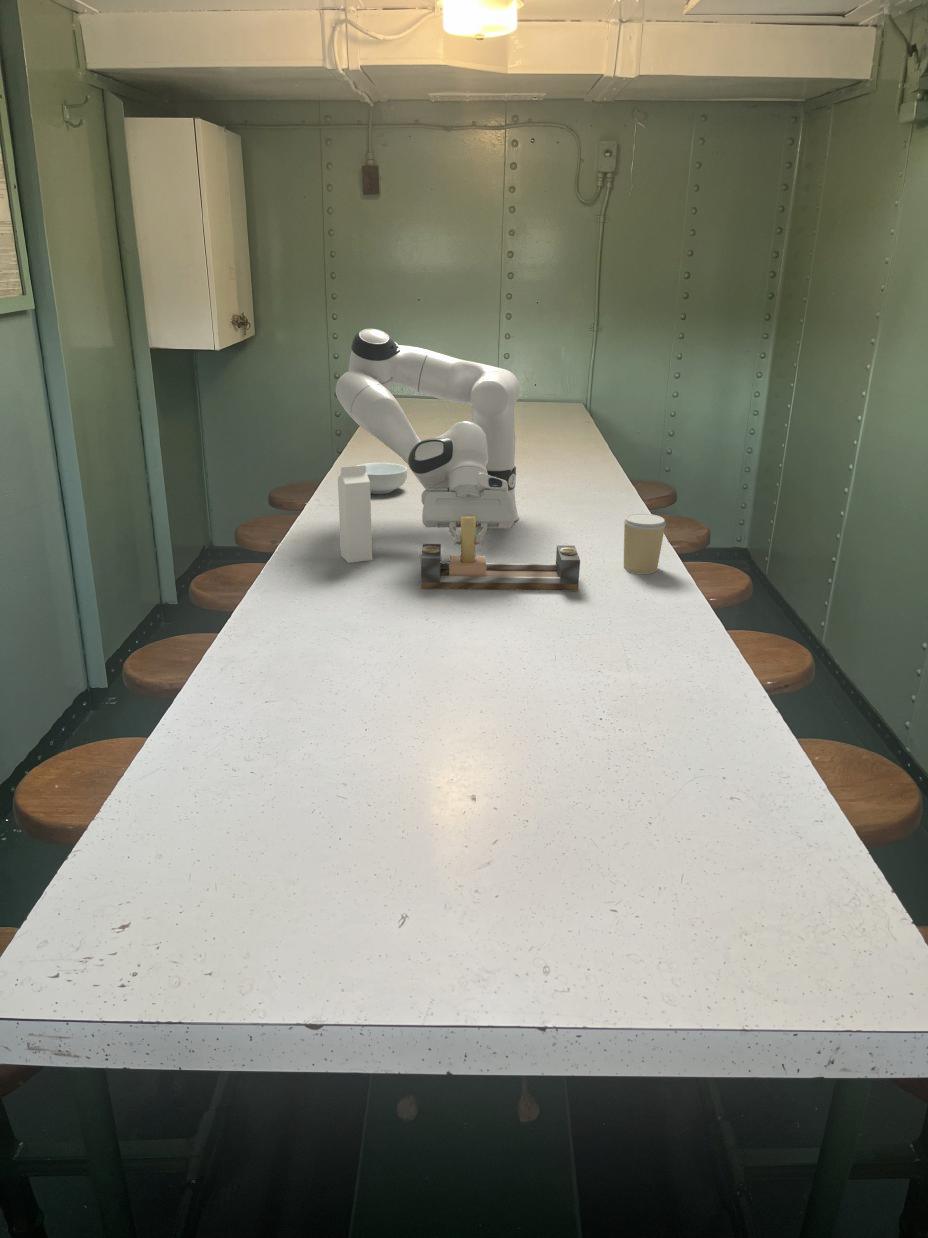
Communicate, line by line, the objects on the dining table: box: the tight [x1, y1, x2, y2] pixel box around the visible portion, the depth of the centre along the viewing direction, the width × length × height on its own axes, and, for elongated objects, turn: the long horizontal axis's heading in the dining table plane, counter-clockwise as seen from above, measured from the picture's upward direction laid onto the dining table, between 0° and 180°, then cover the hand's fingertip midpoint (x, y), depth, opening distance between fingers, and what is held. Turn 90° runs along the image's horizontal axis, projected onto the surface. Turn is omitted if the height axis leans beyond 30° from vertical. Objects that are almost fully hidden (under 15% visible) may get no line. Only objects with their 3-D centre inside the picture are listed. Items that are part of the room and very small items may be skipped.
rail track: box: [420, 543, 581, 592], centre depth 193 cm, size 34×10×8 cm, turn 90°
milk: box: [337, 465, 373, 564], centre depth 204 cm, size 6×6×22 cm
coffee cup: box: [623, 513, 667, 575], centre depth 202 cm, size 9×9×12 cm
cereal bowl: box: [356, 462, 408, 495], centre depth 265 cm, size 17×17×7 cm
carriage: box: [448, 515, 487, 576], centre depth 191 cm, size 8×7×13 cm
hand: (468, 543), depth 190 cm, fingers closed on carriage, 3 cm apart
